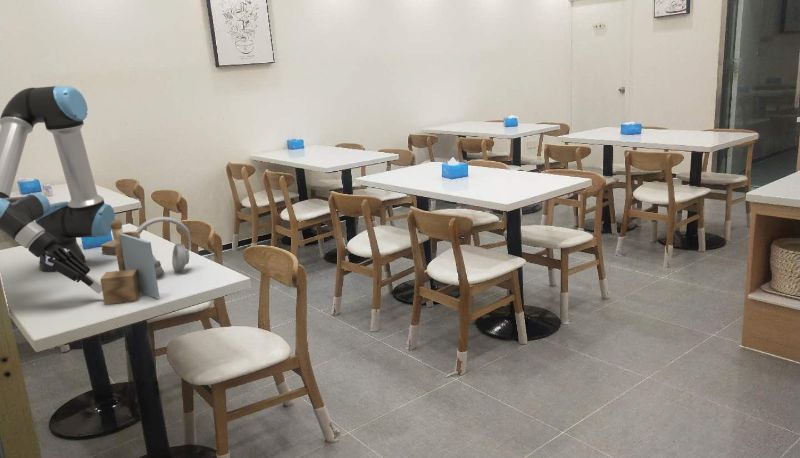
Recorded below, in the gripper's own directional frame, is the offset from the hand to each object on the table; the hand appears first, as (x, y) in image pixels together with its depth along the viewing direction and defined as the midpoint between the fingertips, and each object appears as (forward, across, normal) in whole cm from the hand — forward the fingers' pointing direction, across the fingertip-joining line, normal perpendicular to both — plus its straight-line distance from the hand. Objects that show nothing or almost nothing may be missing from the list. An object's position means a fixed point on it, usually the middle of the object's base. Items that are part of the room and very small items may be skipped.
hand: (102, 289), depth 187 cm
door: (+10, -5, +6) cm, 13 cm away
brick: (-8, -54, -14) cm, 56 cm away
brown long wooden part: (+5, -12, +1) cm, 13 cm away
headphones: (+11, -23, +6) cm, 26 cm away
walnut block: (+6, 0, +2) cm, 7 cm away
